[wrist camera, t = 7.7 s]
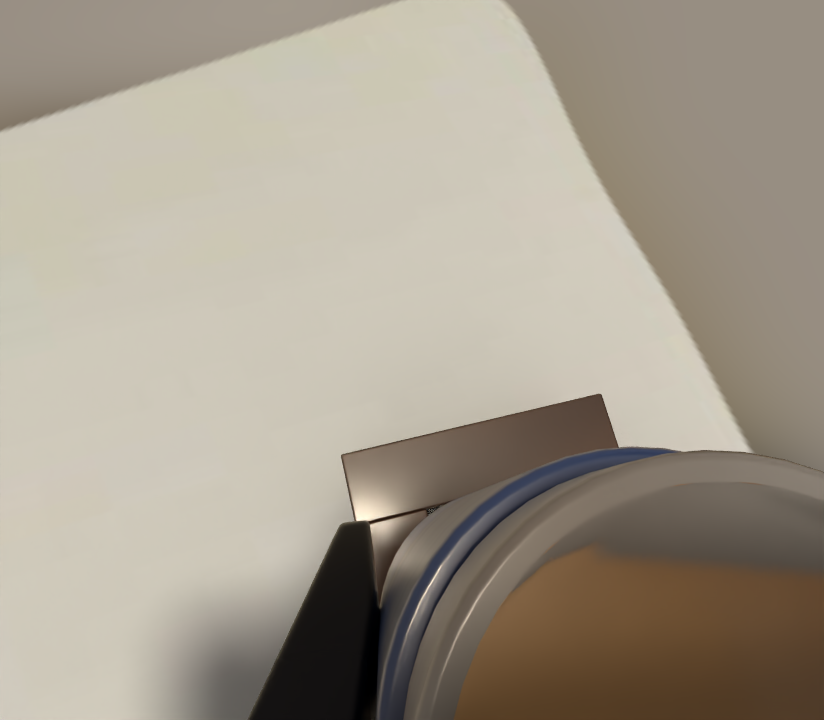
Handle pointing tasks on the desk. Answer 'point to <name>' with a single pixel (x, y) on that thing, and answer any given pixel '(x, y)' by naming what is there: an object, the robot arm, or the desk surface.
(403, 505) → the holder
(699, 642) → the travel flask
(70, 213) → the desk surface
